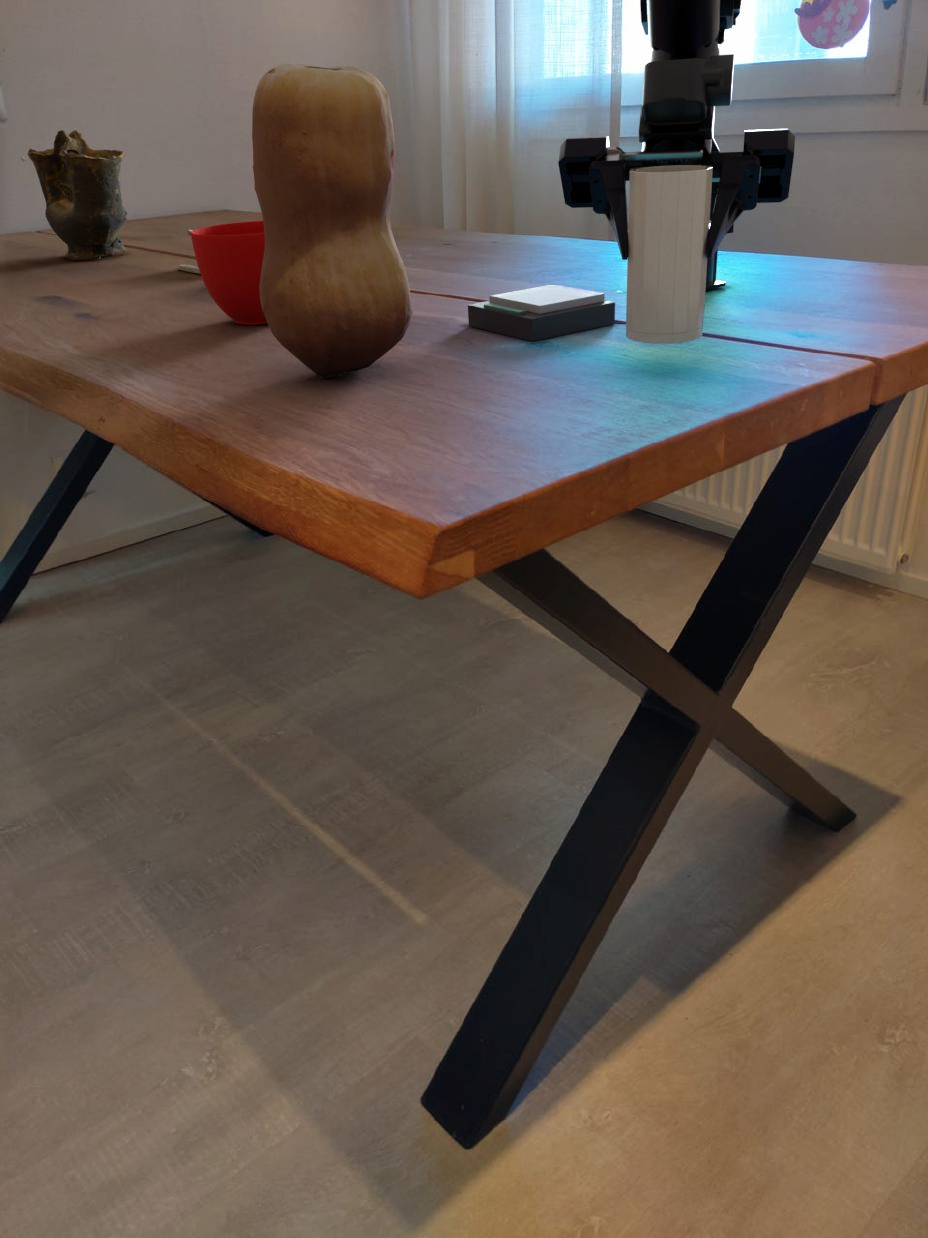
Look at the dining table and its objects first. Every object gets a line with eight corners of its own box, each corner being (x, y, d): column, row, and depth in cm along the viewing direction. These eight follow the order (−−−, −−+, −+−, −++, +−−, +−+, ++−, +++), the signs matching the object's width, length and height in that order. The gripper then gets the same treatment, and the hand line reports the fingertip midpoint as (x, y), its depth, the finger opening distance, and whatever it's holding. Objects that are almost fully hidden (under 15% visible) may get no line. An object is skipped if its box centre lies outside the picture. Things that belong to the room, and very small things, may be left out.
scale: (548, 310, 113) (548, 282, 112) (614, 323, 105) (615, 294, 104) (468, 325, 108) (467, 296, 106) (532, 341, 100) (531, 310, 98)
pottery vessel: (38, 254, 181) (9, 132, 171) (96, 246, 187) (71, 127, 177) (92, 266, 163) (63, 130, 154) (154, 257, 169) (130, 126, 160)
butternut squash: (431, 379, 88) (410, 53, 77) (279, 398, 85) (232, 62, 74) (396, 347, 100) (372, 61, 89) (261, 363, 97) (218, 69, 86)
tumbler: (664, 323, 90) (670, 163, 83) (718, 334, 85) (729, 165, 79) (610, 335, 86) (613, 170, 80) (663, 347, 82) (671, 173, 76)
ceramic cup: (258, 301, 128) (246, 216, 123) (340, 315, 117) (331, 222, 112) (167, 319, 120) (150, 229, 115) (246, 336, 109) (232, 238, 104)
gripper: (561, 26, 80) (538, 190, 76) (806, 9, 76) (796, 182, 72) (575, 130, 91) (556, 280, 86) (792, 120, 86) (783, 278, 82)
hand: (665, 255), depth 81 cm, fingers closed on tumbler, 6 cm apart
